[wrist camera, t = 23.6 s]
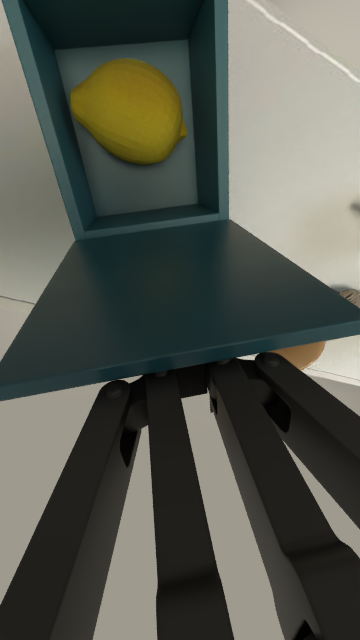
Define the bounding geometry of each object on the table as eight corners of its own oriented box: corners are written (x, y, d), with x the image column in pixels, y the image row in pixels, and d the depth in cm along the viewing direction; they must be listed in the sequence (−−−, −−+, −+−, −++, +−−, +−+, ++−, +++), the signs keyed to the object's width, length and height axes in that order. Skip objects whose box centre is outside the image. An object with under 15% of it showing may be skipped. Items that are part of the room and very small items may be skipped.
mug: (297, 303, 44) (338, 335, 36) (268, 342, 48) (298, 380, 39) (244, 276, 40) (275, 304, 31) (215, 320, 43) (236, 357, 35)
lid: (-18, 389, 9) (-7, 403, 9) (375, 317, 10) (369, 333, 11) (74, 240, 23) (76, 249, 24) (230, 219, 25) (230, 227, 25)
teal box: (42, 40, 24) (-11, -38, 15) (195, 29, 26) (227, -50, 17) (92, 224, 33) (76, 243, 24) (204, 209, 34) (228, 222, 25)
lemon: (191, 103, 28) (210, 80, 21) (169, 180, 31) (179, 181, 24) (89, 50, 25) (71, 2, 18) (76, 142, 28) (57, 131, 21)
